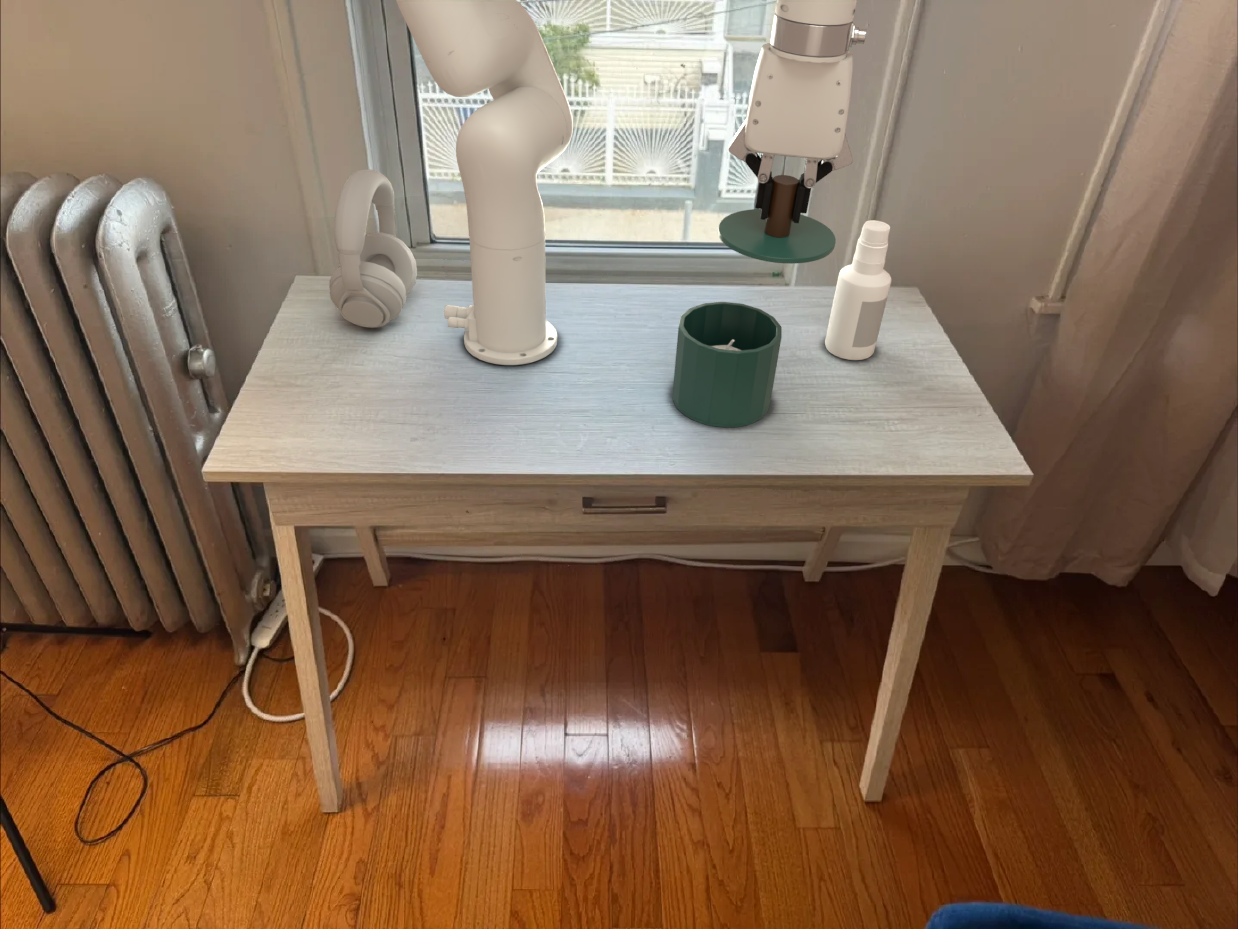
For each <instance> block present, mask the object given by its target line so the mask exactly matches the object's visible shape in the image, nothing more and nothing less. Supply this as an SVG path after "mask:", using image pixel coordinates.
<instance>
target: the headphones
mask: <svg viewBox="0 0 1238 929" xmlns="http://www.w3.org/2000/svg"><path fill="white" fill-rule="evenodd" d="M337 198H338V199H337V203H336V207H335V212H334V243H335V247H336V251H337V255H338V264H339V266H337V268H336V269H335V270H334V271H333V272H332V274H331V275H330V279H329V285H328V286H329V287H328V289H329V297H330V301H331V302H332V304H333V305H334V307H335V308H337V309H338V312H339V314H340V316H341V317H342V318H344V319H345V321H347V322H350V323H352V324H354V325H356V326H359V327H362V328H370V329H371V328H373V329H375V328H380V327H384V326H386V325H388V323H389V322H392V321H394V320H395V319H396V318H398V317H399V316H400V314H401V312H402V311H403V308H404V306H405V304H406V302H407V297H408V296H409V295H410V294H411V292H412V290H413V288H414V287H415V284H416V282H417V276H418V266H417V261H416V258H415V257H414V256H415V255H414V254H413V252H412V250H411V249H410V248H409V246H407V245H406V244H405V242H404V241H403V240H401V239H400V238H398V237H397V220H396V212H395V211H396V207H395V191H394V188H393V185H392V183H391V181H390V180H389V178H388V177H387V176H386V175H384V174H383V173H382V172H380V171H378V170H374V169H370V168H369V169H360V170H356V171H355V172H353V173H352V174H350V175H349V177H347V179H346V180H345V182H344V184H342V188H341V189H340V192H339V195H338V197H337ZM371 204H374V206H375V210H376V211H377V220H378V232H371V233H368V234H366V232H367V226H368V220H369V214H370V208H371Z"/></svg>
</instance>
